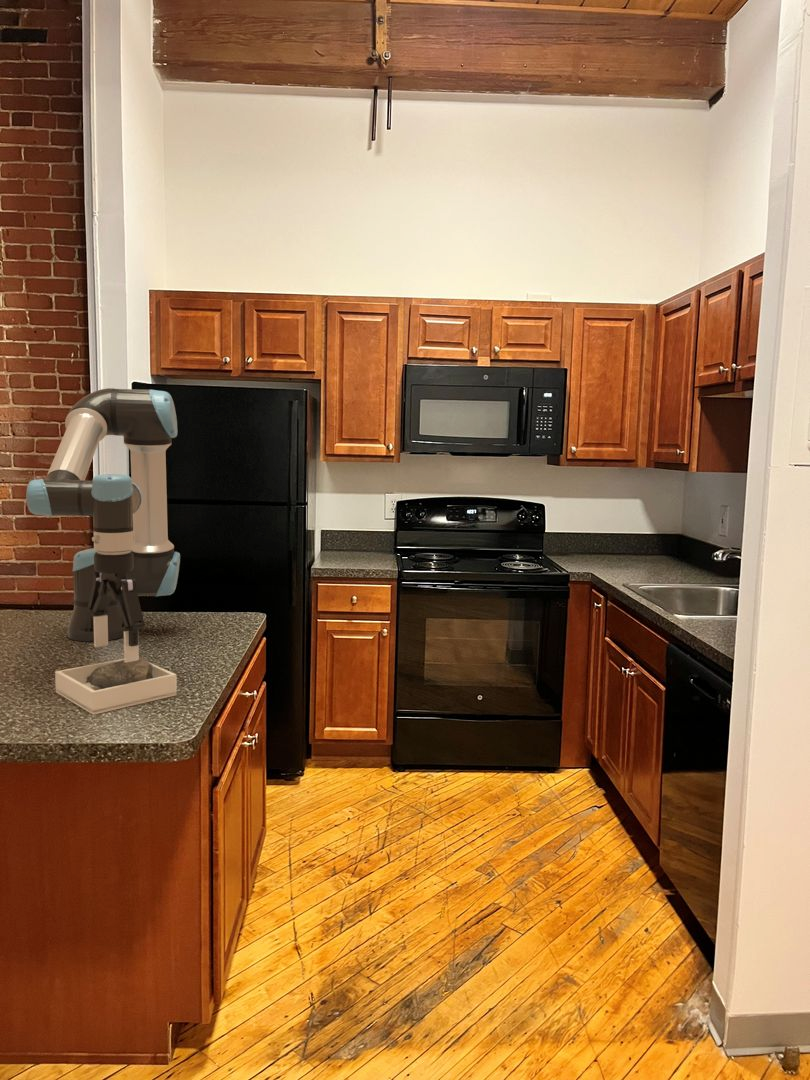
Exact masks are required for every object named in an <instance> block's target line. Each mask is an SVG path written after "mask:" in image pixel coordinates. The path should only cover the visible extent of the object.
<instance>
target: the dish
mask: <svg viewBox="0 0 810 1080" xmlns="http://www.w3.org/2000/svg"><path fill="white" fill-rule="evenodd" d="M122 660H124V658H121V659H115V660H114V659H113V660H108V661H104V662H103V661H102V662H99V663H93V664H88V665H83V666H77V667H72V668H67V669H62V670H55V671H54V677H55V678H54V681H55V682H54V683H55V684H54V685H55V693H56V694H58V695H60V696H61V697H63V698H65V699H66V700H67V701H69V702H71V703H73V704H75V705H76V706H78V707H80V708H81V709H82V710H84V711H85V712H88V713H90V714H91V715H98V714H99V715H100V714H102V713H106V712H107V713H108V712H111V711H116V710H119V709H124V708H128V707H132V706H136V705H141V704H145V703H149V702H154V701H158V700H161V699H166V698H171V697H175V696H178V692H177V691H178V690H177V689H178V688H177V681H178V680H177V679H178V677H177V674H176V673H174V672H171V671H170V670H167V669H166V668H163V667H161V666H158V665H156V664H154V663H152V662H149V661H148V662H149V663H150V664H151V665H152V666H153V671H152V676H153V678H152V679H147V680H143V681H138V682H133V683H128V684H124V685H119V686H114V687H110V688H105V689H100V688H99V687H97V686H93V685H91V683H87V682H86V681H87V679H86V678H87V677H88V676H90V675H91V673H92V672H93V671H94V670H95V669H97V668H98V667H100V666H104V665H108V664H110V663H112V662H118V661H122Z"/></svg>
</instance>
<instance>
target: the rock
mask: <svg viewBox="0 0 810 1080" xmlns="http://www.w3.org/2000/svg"><path fill="white" fill-rule="evenodd" d="M150 663H151V662H150ZM150 663H149V661H148V660H147V659H146V658H144V657H143V656H141V655H139V660H136V661H132V662H127V663H126V662H124V660H122V661H118V662H112V663H110V664H108V665H104V666H100V667H98V668H97V669H95V670H94V671H93V672H92V673H91V675H90V676H88V677H87V678H86V679H87V681H86V682H87V683H91V685H93V686H97V687H99V688H100V689H105V688H110V687H114V686H119V685H124V684H128V683H133V682H138V681H143V680H147V679H152V678H153V676H152V671H153V666H152V665H151V664H150Z"/></svg>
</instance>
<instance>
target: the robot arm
mask: <svg viewBox="0 0 810 1080" xmlns="http://www.w3.org/2000/svg"><path fill="white" fill-rule="evenodd" d="M64 427H65V432H64V434H63V436H62V438H61V441H60V444H59V446H58V449H57V450H56V453H55V455H54V458H53V460H52V462H51V465H50V467H49V469H48V472H47V473H46V477H45V478H40V479H39V478H38V479H32V480H30V481H29V482H28V484H27V486H26V493H25V497H26V498H25V500H26V505H27V508H28V511H29V512H30V513H31V514H33V515H35V516H48V517H60V516H61V517H66V516H67V517H71V516H72V517H78V516H79V517H92V520H93V521H92V522H93V524H92V525H93V529H92V530H93V536H92V537H91V541H92V542H93V548H87V549H84V550H81V551H77V553H75V554H74V556H73V564H72V575H73V576H72V577H73V580H72V581H73V582H72V583H73V610H72V614H71V616H70V619H69V622H68V625H67V638H68V639H69V640H73V641H78V642H93V646H94V647H93V648H100V647H104V646H105V647H106V646H109V641H111V640H116V639H120V638H123V657H124V658H123V659H124V662H126V663H127V662H132V661H136V660H139V656H140V654H139V653H140V650H139V649H140V647H139V642H140V641H139V639H140V638H139V630H140V629H144V628H145V627H146V626H145V625H146V624H145V620H144V616H143V612H142V608H141V604H140V599H139V597H143V596H144V597H162V596H163V597H164V596H171V595H172V594H174V593H175V590H176V588H177V584H178V579H179V572H180V564H181V554H180V552H178V551H175V545H174V544H173V543H172V542H171V541H170V540H169V536H168V535H169V533H168V531H169V530H168V494H167V490H168V489H167V464H166V463H167V462H166V461H167V458H166V454H167V453H166V451H167V450H168V449H169V447H170V446H172V439H175V438H177V436H178V432H179V431H178V419H177V413H176V407H175V403H174V400H173V398H172V395H171V394H170V392H168V391H164V390H156V389H143V388H142V389H139V388H137V389H133V388H130V389H129V388H113V387H112V388H109V387H108V388H102V389H99V390H95V391H93V392H91V393H89V394H87V395H85V396H83V397H82V398H81V399H79V400H78V401H77V402H76V403H75V404H73V406H72V407H71V408H70V410H69V411H68V413H67V415H66V417H65V421H64ZM106 436H123V445H124V446H126V447H127V448H128V449H129V451H130V474H131V476H129V475H126V474H114V473H113V474H96V475H95V476H94V477H93V478H92V480H86V477H87V475H88V474H89V469H90V467H91V463H92V461H93V459H94V456H95V454H96V452H97V451H96V450H97V448H98V445H99V442H101V441H102V440H103V439H104V438H105V437H106Z"/></svg>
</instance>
